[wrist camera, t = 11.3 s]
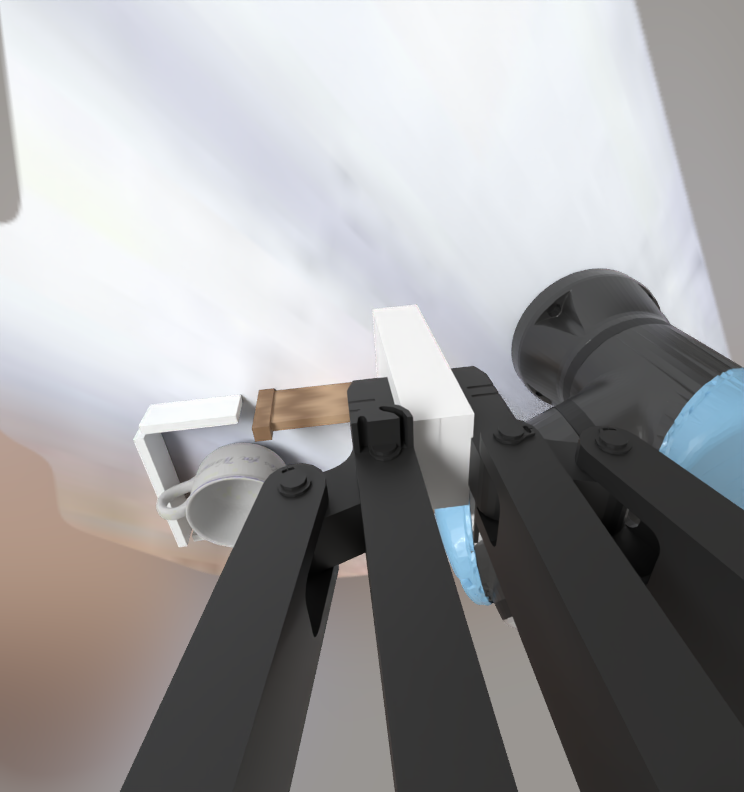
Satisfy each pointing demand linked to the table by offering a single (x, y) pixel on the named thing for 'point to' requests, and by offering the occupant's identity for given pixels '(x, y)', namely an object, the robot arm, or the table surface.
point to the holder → (156, 451)
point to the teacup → (222, 491)
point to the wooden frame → (299, 409)
